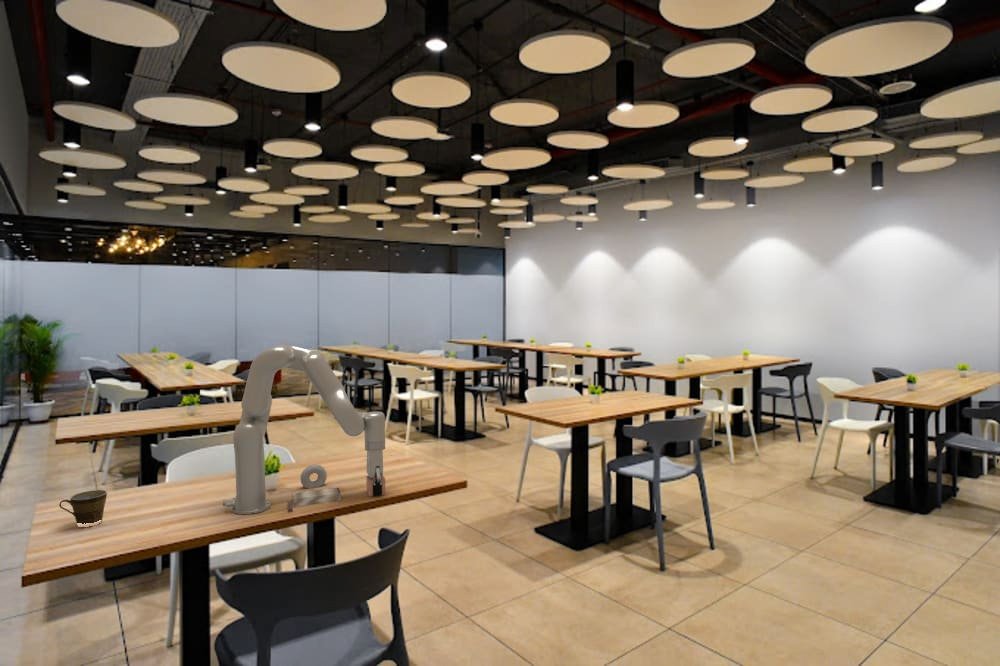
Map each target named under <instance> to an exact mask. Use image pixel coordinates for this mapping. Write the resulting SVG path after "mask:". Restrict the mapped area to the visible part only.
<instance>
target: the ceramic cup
mask: <svg viewBox="0 0 1000 666" xmlns="http://www.w3.org/2000/svg"><path fill="white" fill-rule="evenodd" d="M107 497H108V492H107V490H103V489H102V490H101V489H97V490H96V489H95V490H88V491H86V490H85V491H82V492H78V493H76V494H73V495H71V496H70V497H69V499H68V498H67V499H62V500H61V501H60V502H59V505H58V506H59V508H60V509H61V510H64V511H66V512H68V513H69V514H71V515H72V516H73V517H74V518H75V522H76V524H77V523H82V524H84V523H85V524H86V523H94V522H97V521H99V520H102V521H103V519H104V518H103V517H104V511H105V505H106V501H107ZM64 502H65V503H69V504H70V505H71V508H72V511H73V512H72V511H70V510H69V509H68V508H65V507H63V506H62V503H64ZM102 518H103V519H102Z"/></svg>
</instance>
